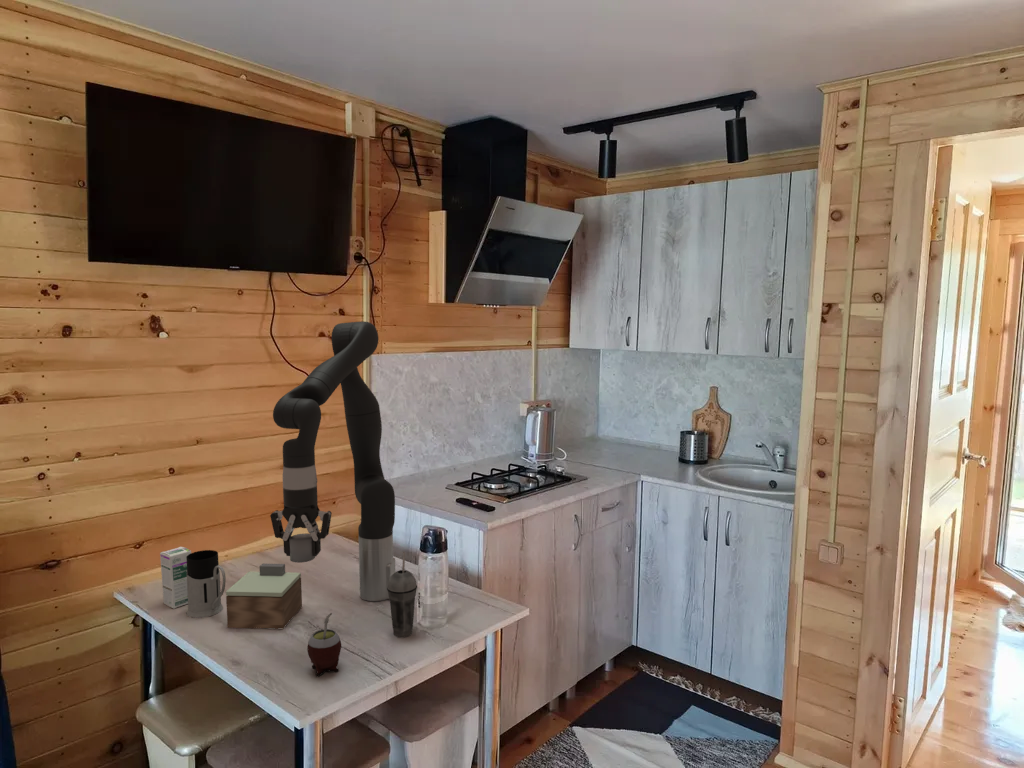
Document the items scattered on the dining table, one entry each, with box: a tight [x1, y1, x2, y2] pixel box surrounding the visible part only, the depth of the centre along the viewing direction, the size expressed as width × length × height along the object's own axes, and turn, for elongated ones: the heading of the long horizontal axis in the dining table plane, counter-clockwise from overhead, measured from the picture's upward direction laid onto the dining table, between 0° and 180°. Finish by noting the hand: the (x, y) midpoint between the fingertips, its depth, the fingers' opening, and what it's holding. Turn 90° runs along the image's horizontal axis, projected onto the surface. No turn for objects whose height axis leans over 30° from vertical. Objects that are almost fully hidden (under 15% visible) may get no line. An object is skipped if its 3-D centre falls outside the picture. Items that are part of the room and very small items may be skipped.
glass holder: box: [186, 549, 227, 619], centre depth 176 cm, size 9×14×15 cm, turn 54°
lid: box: [225, 563, 302, 597], centre depth 173 cm, size 14×13×4 cm
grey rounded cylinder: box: [289, 533, 316, 564], centre depth 158 cm, size 6×6×5 cm
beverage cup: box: [387, 551, 418, 638], centre depth 164 cm, size 7×7×20 cm
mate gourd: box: [306, 612, 342, 678], centre depth 147 cm, size 8×8×15 cm
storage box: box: [225, 576, 303, 630], centre depth 174 cm, size 14×13×8 cm
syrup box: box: [159, 546, 192, 610], centre depth 182 cm, size 6×6×14 cm
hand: (302, 554), depth 159 cm, fingers closed on grey rounded cylinder, 5 cm apart
